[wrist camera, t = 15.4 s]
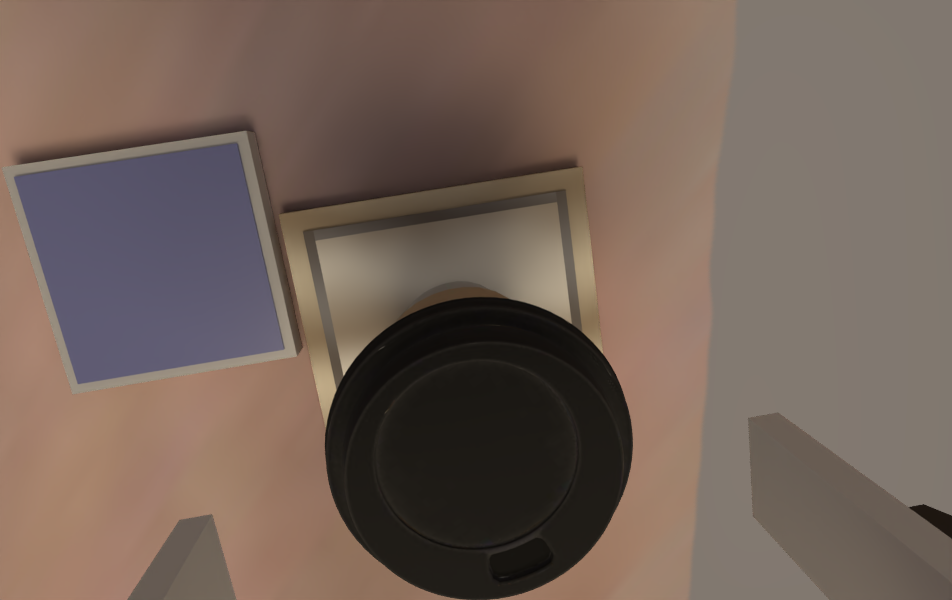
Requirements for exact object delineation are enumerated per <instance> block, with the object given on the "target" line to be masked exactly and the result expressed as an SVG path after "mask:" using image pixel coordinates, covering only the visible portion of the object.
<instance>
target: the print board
mask: <svg viewBox="0 0 952 600" xmlns="http://www.w3.org/2000/svg"><path fill="white" fill-rule="evenodd" d="M279 219H280V223H281V228H282V233H283V237H284V242H285V246H286V251H287V255H288V260H289V264H290V269H291V273H292V278H293V283H294V287H295V292H296V296H297V301H298V305H299V310H300V314H301V319H302V323H303V328H304V332H305V337H306V342H307V346H308V351H309V355H310V360H311V364H312V369H313V373H314V378H315V382H316V387H317V392H318V396H319V401H320V405H321V410H322V414H323V419H324V423H325V428H326V426H327V419H328V415H329V411H330V407H331V404H332V401H333V398H334V395H335V393H336V390H337V388H338V386H339V384H340V382H341V380H342V378H343V376H344V375H345V373H346V371H347V370H348V368H349V367H350V365H351V364H352V363H353V361H354V360H355V358H356V357H357V356H358V355H359V354H360V352H361V351H362V350H363V349H364V348H365V347H366V346H367V345H368V344H369V343H370V342H371V341H372V340H373V339H374V338H375V337H376V336H378V335H379V334H380V333H381V332H383V331H384V330H385V329H386V328H388V327H389V326H391V325H392V324H394V323H395V322H396V321H397V320H398V319H399V317H400V316H401V315H402V314H403V313H404V312H405V311H406V310H407V309H408V307H409V306H410V305H411V304H412V303H413V302H414V300H416V299H417V298H418V297H419V296H421V295H422V294H423V293H424V292H426V291H428V290H430V289H432V288H434V287H436V286H439V285H442V284H445V283H450V282H456V281H465V282H472V283H476V284H480V285H482V286H484V287H486V288H488V289H489V290H493V291H496V292H498V293H500V294H502V295H503V296H505V297H507V298H509V299H512V300H517V301H522V302H525V303H529V304H532V305H535V306H538V307H541V308H543V309H545V310H548V311H550V312H552V313H554V314H556V315H558V316H560V317H562V318H563V319H565V320H566V321H568V322H569V323H571V324H572V325H574V326H575V327H576V328H578V329H579V330H580V331H581V332H583V333H584V334H585V335H586V336H587V337H588V338H589V339H590V340H591V341H592V342H593V343H594V344H595V345H596V346H597V347H598V349H599V350H600V351H601V352H602V354H603V349H602V340H601V331H600V322H599V313H598V304H597V295H596V286H595V277H594V268H593V259H592V250H591V241H590V232H589V223H588V214H587V205H586V196H585V187H584V178H583V169H582V167H573V168H566V169H560V170H554V171H547V172H541V173H535V174H528V175H522V176H515V177H509V178H503V179H496V180H490V181H484V182H477V183H471V184H464V185H458V186H452V187H445V188H439V189H433V190H426V191H420V192H414V193H407V194H401V195H394V196H388V197H382V198H375V199H369V200H363V201H356V202H350V203H344V204H337V205H331V206H324V207H318V208H312V209H305V210H299V211H293V212H286V213H282V214H279Z"/></svg>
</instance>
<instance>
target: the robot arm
mask: <svg viewBox="0 0 952 600" xmlns="http://www.w3.org/2000/svg"><path fill="white" fill-rule="evenodd" d="M748 422H749V441H750V442H749V443H750V465H751V486H752V504H753V505H752V507H753V517H754V518H755V519H756V520H757V521H758V522H759V523H760V524H761V525H762V527H763V528H764V529H765V530H766V531H767V532H768V533H769V534H770V535H771V536H772V538H773V539H774V540H775V541H776V542H777V543H778V544H779V545H780V546H781V547H782V548H783V550H784V551H785V552H786V553H787V554H788V555H789V556H790V557H791V558H792V559H793V560H794V561H795V563H796V564H797V565H798V566H799V567H800V568H801V569H802V570H803V571H804V572H805V574H806V575H807V576H808V577H809V578H810V579H811V580H812V581H813V582H814V583H815V584H816V586H817V587H818V588H819V589H820V590H821V591H822V592H823V593H824V594H825V595H826V597H828V599H829V600H952V516H951V515H949V514H946V513H944V512H941V511H939V510H936V509H934V508H931V507H929V506H927V505H924V504H923V505H918V506H913V507H907V506H906V505H904V504H903V503H902V502H900V501H899V500H898V499H896V498H895V497H894V496H892V495H891V494H889V493H888V492H887V491H885V490H884V489H883V488H881V487H880V486H878V485H877V484H876V483H874V482H873V481H872V480H870V479H869V478H867V477H866V476H865V475H863V474H862V473H860V472H859V471H858V470H856V469H855V468H854V467H852V466H851V465H850V464H848V463H847V462H845V461H844V460H843V459H841V458H840V457H838V456H837V455H836V454H834V453H833V452H832V451H830V450H829V449H828V448H826V447H825V446H823V445H822V444H821V443H819V442H818V441H817V440H815V439H814V438H812V437H811V436H810V435H808V434H807V433H806V432H804V431H803V430H801V429H800V428H799V427H797V426H796V425H795V424H793V423H792V422H790V421H789V420H788V419H786V418H785V417H784V416H782V415H781V414H779V413H773V414H767V415H762V416H756V417H751V418H748ZM128 600H236V597H235V593H234V590H233V586H232V582H231V579H230V575H229V572H228V568H227V565H226V561H225V558H224V554H223V551H222V547H221V544H220V540H219V536H218V533H217V529H216V526H215V522H214V519H213V515H212V514H211V515H205V516H199V517H194V518H188V519H183V520H179V522H178V523H177V525H176V526H175V528H174V529H173V531H172V532H171V534H170V535H169V537H168V538H167V540H166V541H165V543H164V545H163V546H162V548H161V549H160V551H159V552H158V554H157V555H156V557H155V558H154V560H153V561H152V563H151V564H150V566H149V567H148V569H147V570H146V572H145V574H144V575H143V577H142V578H141V580H140V581H139V583H138V584H137V586H136V587H135V589H134V590H133V592H132V593H131V595H130V596H129V598H128Z"/></svg>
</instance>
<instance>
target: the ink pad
mask: <svg viewBox="0 0 952 600" xmlns="http://www.w3.org/2000/svg"><path fill="white" fill-rule="evenodd" d="M2 170H3V173H4V177H5V180H6V183H7V186H8V189H9V193H10V196H11V199H12V202H13V205H14V209H15V212H16V215H17V218H18V221H19V225H20V228H21V231H22V234H23V237H24V241H25V244H26V247H27V250H28V253H29V257H30V260H31V263H32V266H33V269H34V273H35V276H36V279H37V282H38V285H39V289H40V292H41V295H42V298H43V301H44V304H45V308H46V311H47V314H48V317H49V320H50V324H51V327H52V330H53V333H54V336H55V340H56V343H57V346H58V349H59V352H60V356H61V359H62V362H63V365H64V368H65V372H66V375H67V378H68V381H69V384H70V388H71V391H72V394H77V393H83V392H89V391H95V390H101V389H107V388H113V387H119V386H125V385H130V384H136V383H142V382H148V381H154V380H160V379H166V378H172V377H178V376H184V375H190V374H196V373H202V372H207V371H213V370H219V369H225V368H231V367H237V366H243V365H249V364H255V363H261V362H267V361H273V360H279V359H285V358H290V357H296V356H298V354H299V353H300V351H301V349H302V343H301V339H300V334H299V330H298V325H297V321H296V316H295V312H294V307H293V303H292V298H291V294H290V289H289V285H288V280H287V276H286V271H285V267H284V262H283V258H282V253H281V249H280V244H279V240H278V235H277V231H276V226H275V222H274V217H273V213H272V208H271V204H270V199H269V195H268V190H267V186H266V181H265V177H264V172H263V168H262V163H261V159H260V154H259V150H258V145H257V141H256V136H255V132H250V131H241V132H234V133H227V134H221V135H214V136H207V137H201V138H194V139H187V140H181V141H174V142H168V143H161V144H154V145H148V146H141V147H134V148H128V149H121V150H114V151H108V152H101V153H94V154H88V155H81V156H74V157H68V158H61V159H54V160H48V161H41V162H34V163H28V164H21V165H14V166H8V167H2Z"/></svg>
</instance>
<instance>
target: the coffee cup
mask: <svg viewBox="0 0 952 600" xmlns="http://www.w3.org/2000/svg"><path fill="white" fill-rule="evenodd" d="M632 450H633V436H632V426H631V419H630V415H629V410H628V406H627V403H626V401H625V397H624V394H623V391H622V388H621V385H620V383H619V381H618V379H617V376H616V374H615V372H614V371H613V369H612V367H611V365H610V364H609V362H608V361H607V359H606V358H605V356H604V355H603V354H602V352H601V351H600V350H599V349H598V347H597V346H596V345H595V344H594V343H593V342H592V341H591V340H590V339H589V338H588V337H587V336H586V335H585V334H584V333H583V332H581V331H580V330H579V329H578V328H576V327H575V326H574V325H572V324H571V323H569V322H568V321H566V320H565V319H563V318H562V317H560V316H558V315H556V314H554V313H552V312H550V311H548V310H545V309H543V308H541V307H538V306H535V305H532V304H529V303H525V302H522V301H517V300H512V299H509V298H507V297H505V296H503V295H502V294H500V293H498V292H496V291H493V290H489V289H488V288H486V287H484V286H482V285H480V284H476V283H472V282H465V281H456V282H450V283H445V284H442V285H439V286H436V287H434V288H432V289H430V290H428V291H426V292H424V293H423V294H422V295H421V296H419V297H418V298H417V299H416V300H414V302H413V303H412V304H411V305H410V306H409V307H408V309H407V310H406V311H405V312H404V313H403V314H402V315H401V316H400V317H399V319H398V320H397V321H396V322H395V323H394V324H392V325H391V326H389V327H388V328H386V329H385V330H384V331H383V332H381V333H380V334H379V335H378V336H376V337H375V338H374V339H373V340H372V341H371V342H370V343H369V344H368V345H367V346H366V347H365V348H364V349H363V350H362V351H361V352H360V354H359V355H358V356H357V357H356V358H355V360H354V361H353V363H352V364H351V365H350V367H349V368H348V370H347V371H346V373H345V375H344V376H343V378H342V380H341V382H340V384H339V386H338V388H337V390H336V393H335V395H334V398H333V401H332V404H331V407H330V411H329V415H328V419H327V426H326V433H325V455H326V465H327V474H328V481H329V485H330V489H331V493H332V496H333V499H334V501H335V504H336V507H337V509H338V511H339V513H340V515H341V517H342V519H343V521H344V522H345V524H346V526H347V527H348V529H349V530H350V532H351V533H352V534H353V536H354V537H355V538H356V540H357V541H358V542H359V543H360V544H361V545H362V546H363V547H364V548H365V549H366V550H367V551H368V552H369V553H370V554H371V555H372V556H373V557H374V558H376V559H377V560H378V561H379V562H381V563H382V564H383V565H385V566H386V567H387V568H388V569H389V570H391V571H392V572H393V573H394V574H396V575H397V576H399V577H400V578H402V579H403V580H405V581H407V582H408V583H410V584H412V585H414V586H416V587H418V588H421V589H423V590H426V591H428V592H431V593H434V594H438V595H441V596H446V597H450V598H457V599H466V600H490V599H499V598H505V597H510V596H514V595H518V594H522V593H525V592H528V591H531V590H533V589H536V588H538V587H540V586H543V585H545V584H547V583H548V582H550V581H552V580H554V579H556V578H557V577H559V576H560V575H562V574H564V573H565V572H566V571H568V570H569V569H570V568H572V567H573V566H574V565H575V564H577V563H578V562H579V561H580V560H581V559H582V558H583V557H584V556H585V555H586V554H587V553H588V552H589V551H590V550H591V549H592V547H593V546H594V545H595V544H596V542H597V541H598V540H599V538H600V537H601V536H602V534H603V533H604V531H605V529H606V528H607V526H608V524H609V522H610V520H611V518H612V516H613V514H614V512H615V510H616V508H617V506H618V504H619V502H620V500H621V497H622V495H623V492H624V490H625V487H626V484H627V481H628V477H629V472H630V468H631V461H632Z"/></svg>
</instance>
